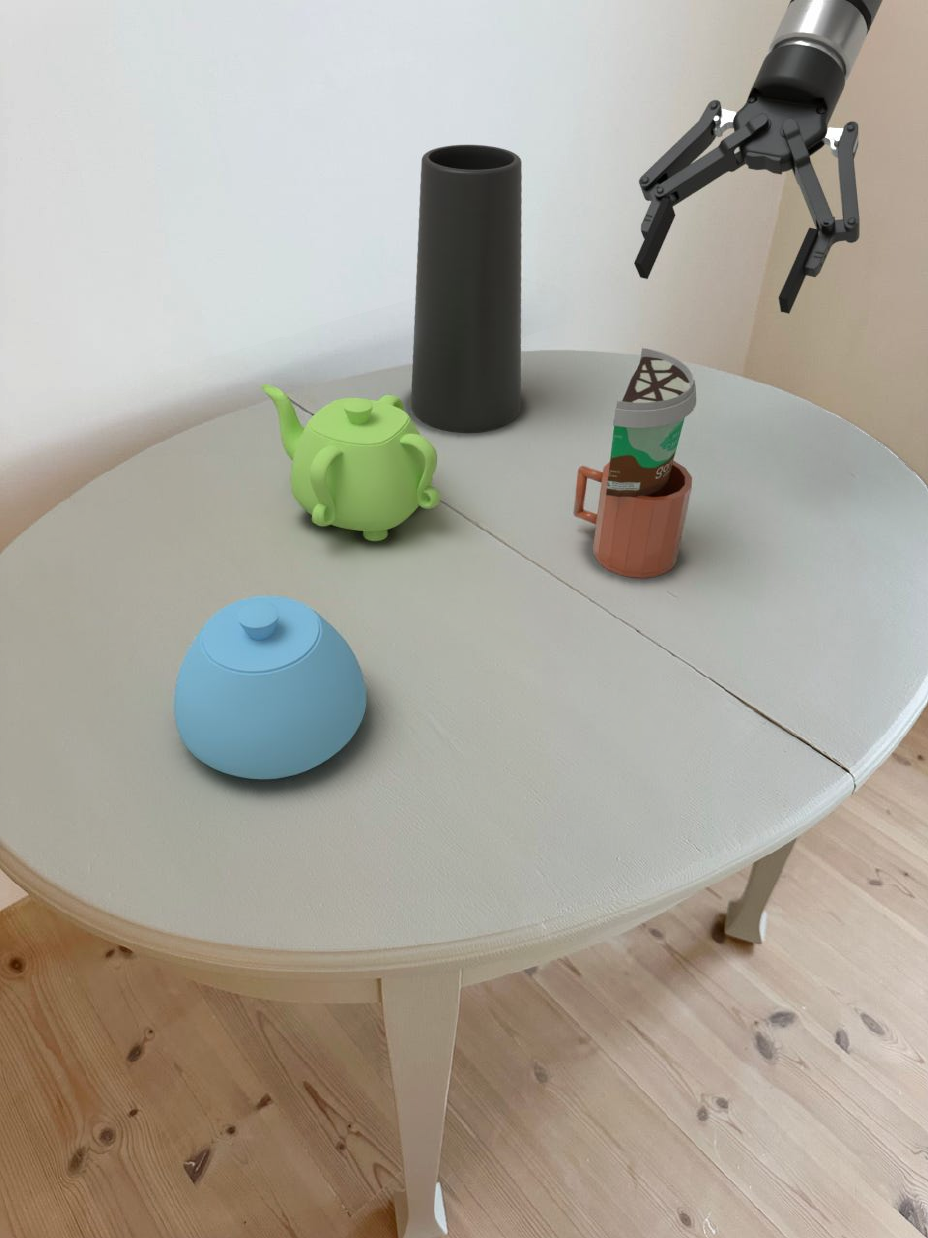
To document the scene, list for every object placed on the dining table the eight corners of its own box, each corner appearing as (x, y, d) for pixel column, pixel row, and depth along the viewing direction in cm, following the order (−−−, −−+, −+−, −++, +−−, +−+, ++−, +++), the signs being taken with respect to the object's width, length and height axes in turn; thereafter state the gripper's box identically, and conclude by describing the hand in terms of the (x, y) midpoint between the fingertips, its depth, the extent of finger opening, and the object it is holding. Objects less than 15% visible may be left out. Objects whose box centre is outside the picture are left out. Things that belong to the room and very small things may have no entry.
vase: (388, 407, 119) (379, 156, 100) (459, 370, 127) (463, 132, 108) (473, 444, 112) (480, 184, 93) (542, 403, 120) (561, 156, 102)
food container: (669, 516, 85) (688, 416, 79) (602, 503, 87) (615, 403, 80) (690, 450, 94) (709, 355, 88) (629, 439, 96) (643, 345, 89)
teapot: (287, 562, 94) (273, 450, 86) (273, 485, 105) (259, 379, 96) (446, 541, 97) (447, 431, 89) (417, 468, 108) (416, 364, 100)
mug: (689, 546, 97) (706, 470, 92) (655, 588, 92) (669, 510, 86) (590, 510, 102) (600, 435, 96) (552, 548, 97) (559, 472, 91)
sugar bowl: (293, 823, 70) (276, 713, 63) (140, 746, 76) (107, 636, 68) (402, 697, 80) (398, 589, 73) (260, 637, 86) (243, 531, 78)
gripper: (947, 117, 84) (849, 340, 84) (683, 78, 94) (596, 277, 94) (955, 57, 77) (849, 300, 77) (669, 22, 87) (575, 237, 87)
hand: (709, 288), depth 85 cm, fingers open, 13 cm apart
